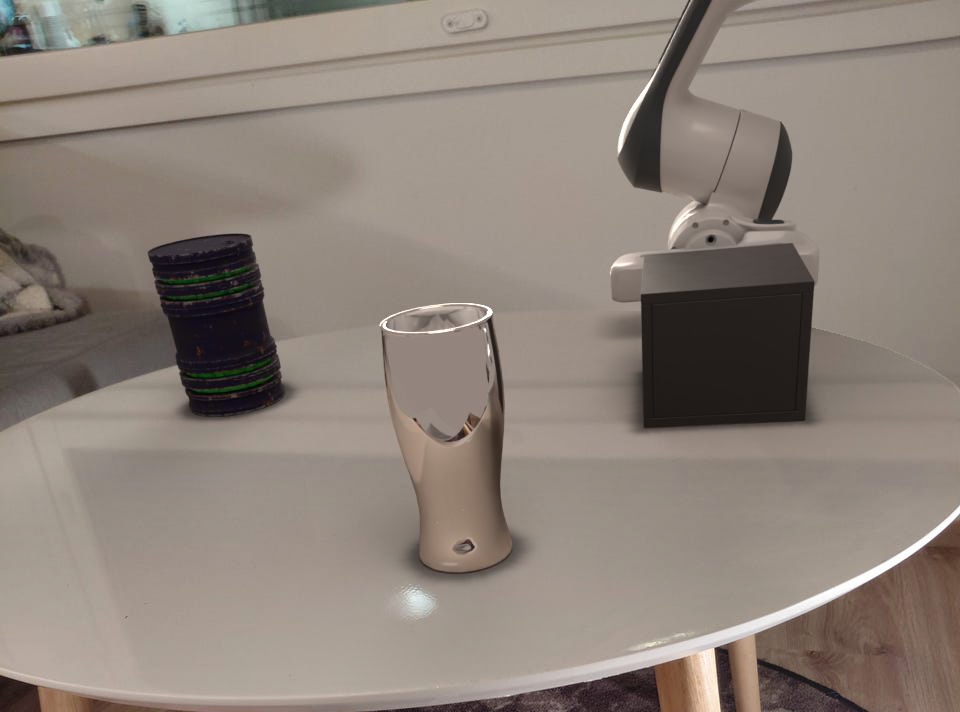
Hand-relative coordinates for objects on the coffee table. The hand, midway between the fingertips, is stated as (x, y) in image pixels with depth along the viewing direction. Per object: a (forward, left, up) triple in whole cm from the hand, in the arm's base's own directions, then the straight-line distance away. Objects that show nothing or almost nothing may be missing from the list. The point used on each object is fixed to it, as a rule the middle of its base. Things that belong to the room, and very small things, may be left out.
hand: (715, 289), depth 92 cm
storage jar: (+40, -26, -6) cm, 48 cm away
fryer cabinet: (+9, +10, -6) cm, 15 cm away
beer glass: (+41, +20, -6) cm, 46 cm away
